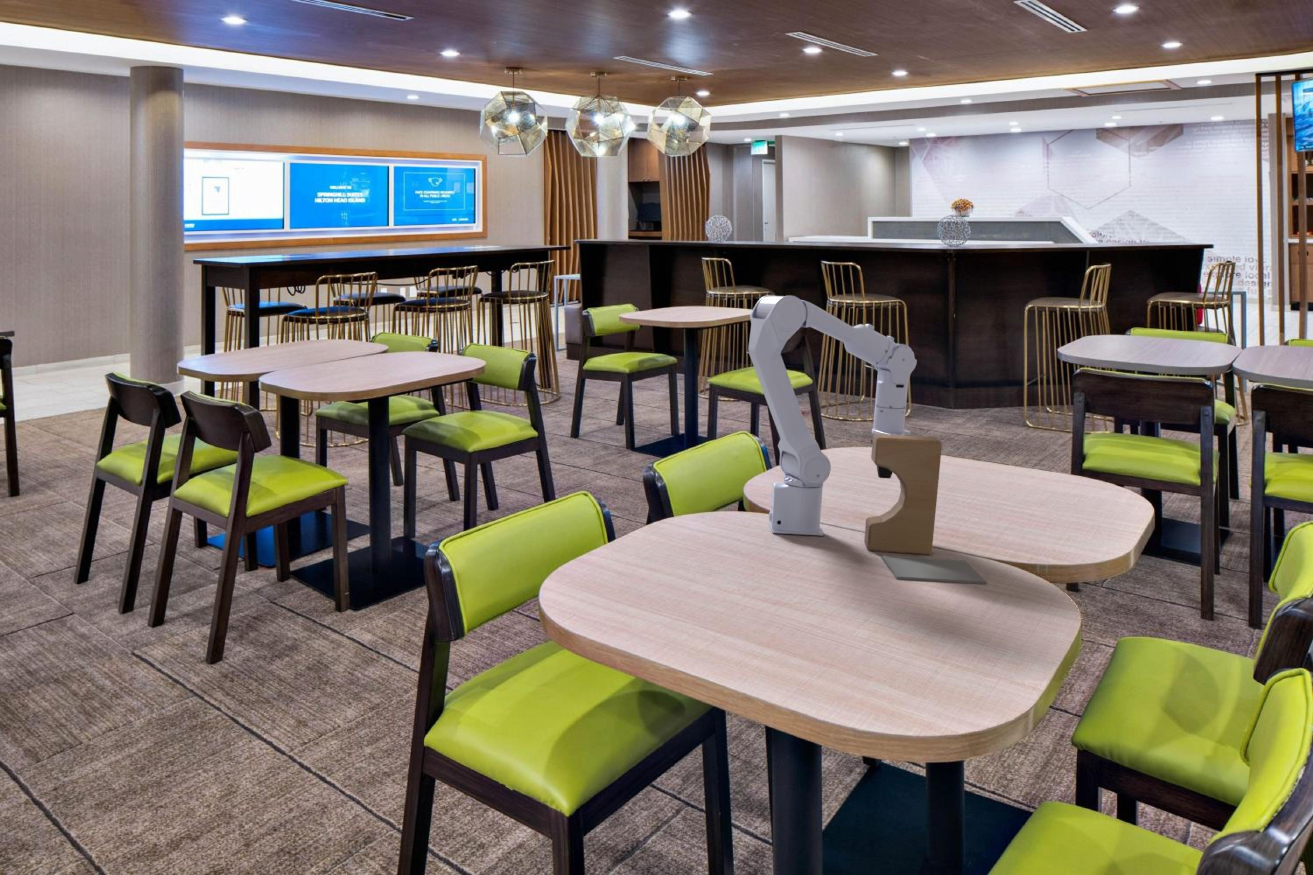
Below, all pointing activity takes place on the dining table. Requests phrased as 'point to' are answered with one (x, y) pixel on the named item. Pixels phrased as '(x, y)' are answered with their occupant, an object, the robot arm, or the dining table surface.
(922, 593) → the dining table surface
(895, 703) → the dining table surface
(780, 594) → the dining table surface
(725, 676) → the dining table surface
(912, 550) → the decorative block
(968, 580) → the grey flat plate
